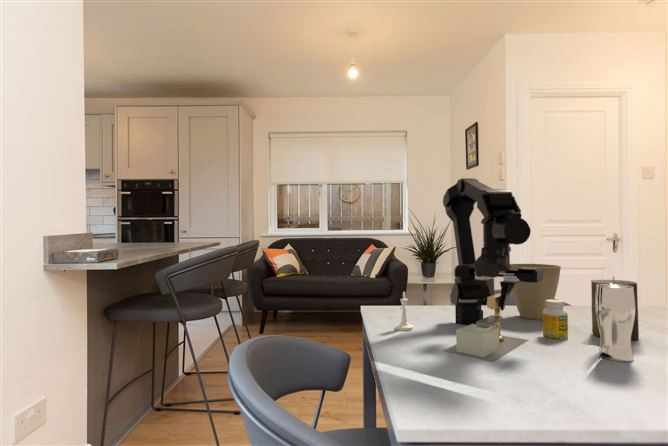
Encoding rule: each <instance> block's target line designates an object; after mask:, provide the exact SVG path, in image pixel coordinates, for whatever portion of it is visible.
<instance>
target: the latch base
mask: <svg viewBox="0 0 668 446" xmlns="http://www.w3.org/2000/svg"><path fill="white" fill-rule="evenodd" d="M502 336H504V337H505V340H501V341H499V349H498V350H496V351H494V352H493V353H491V354H489V355H488V356H486V357H480V356H475V355H471V354H466V353H461V352H457V351H456V344H454V345H452V346H450V347H447V348H446V349H443V350H442V352H445V353H450V354H454V355H460V356H464V357H469V358H474V359H477V360H482V361H485V362H486V361H487V362H492V363H495V362H496V361H498V360H499V359H502V358H503V357H504V356H506V355H507V354H509V353H511V352H512V351H514V350H516V349H517V348H518V347H520V346H521V345H523V344H525V343H527V342H528V341H529V339H526V338H520V337H514V336H513V337H512V336H509V335H502Z"/></svg>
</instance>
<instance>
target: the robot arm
mask: <svg viewBox="0 0 668 446" xmlns="http://www.w3.org/2000/svg"><path fill="white" fill-rule="evenodd" d="M442 198H443V199H442V204H443V207H444V211H445V214H446V216H447V217H448V218H449V220H451V222H452V226H453V233H454V241H455V247H456V255H457V262H458V263H457V265H456V266H455V267H454V269H453V272H454V275H453V276H454V284H453V287H452V289H451V292H450V295H449V297H450V303H452V304H453V305H454V306H455V315H454V316H455V322H454V324H456V325H462V326H468V325H470V324H476V321H479V320H481V319H484V310H483V309H482V306H487V297H489V296H492V295H495V278H497V277H498V278H499V277H500V278H503V280H501V281H500V282H499V284H500V294H501V300H500V311H504V310H505V308H506V303H507V302H508V300H509V298H510V295H511V293H512V289H513V288H514V286H515V284H517V283H520V281H521V282H533V283H536V282H540V281H542V280H543V272H542V270H541V269H540V268H531V267H523V268H519V269H518V270H510V269H511V264H512V263H510V261H511V259H510V258H511V257H510V256H511V254H510V252H512V246H510V245H516V246H517V245H522V244H524V243H526V242H527V241H528V240H529V239H530V236H531V232H532V231H531V227H530V225H529V223H528V222H527V221H526V220H525V219H523V218H522V210H521V208H520V206H519V205H518V202H517V201H516V198H515V196H514V194H513V192H512V191H511V190H510V189H501V188H492V187H490V186H488V185H486V184H485V183H483V182H480V181H479V180H478V179H477V178H473V177H472V178H470V177H469V178H467V177H465V178H460V179H458V180H457V182H456V183H455V184H454V185H452V186H450V187H449V188H447V189H446V191H445V193H444V195H443V197H442ZM475 204H476V208H477V209H478V211H479V212H480V213H481V215H482V216H483V218H482V219H481V221H480V224H482V225H483V226H482V231H483V232H482V234H483V235H482V236H483V238H482V240H483V247H481V254H480V256H478V258H476V253H475V247H474V239H473V233H472V227H471V226H472V225H471V220H470V218H471V216H472V214H473V212H474V210H475ZM490 310H493V309H492V308H490Z"/></svg>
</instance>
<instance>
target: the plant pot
mask: <svg viewBox="0 0 668 446" xmlns="http://www.w3.org/2000/svg"><path fill="white" fill-rule="evenodd" d="M510 264H511V269H510V270H518V269H519V268H523V267H531V268H540V269H541V270H542V272H543V280H542V281H540V282H536V283H533V282H521V281H520V283H517V284H515V286H514V288H513V289H512V291H511V293H512V296H513V299H514V303H515V305H516V308H517V312H518V314H519V316H520V317H521V318H523V319H526V320H527V319H528V320H534V321H535V320H538V321H540V320H542V321H543V310H544V309H545V308H547V306H546V305H545V301H546V300H555V299H556V296H557V295H556V294H557V291H558V286H559V281H560V275H561V265H556V264H548V263H547V264H546V263H545V264H543V263H510Z"/></svg>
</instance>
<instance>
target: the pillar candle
mask: <svg viewBox="0 0 668 446" xmlns="http://www.w3.org/2000/svg"><path fill="white" fill-rule="evenodd" d="M590 281H591V282H590V283H591V284H590V285H591V323H592V324H591V325H592V326H591V327H592V329H591V330H592V332H591V333H592V335H594V336H596V337H598V338H600V331H599V326H598V321H597V317H596V310H595V294H596V285H597V284H620V285H629V286H633V287H634V288H633V289H634V298H635V318H634V324H633V329H632V334H631V342H632V341H633V342H635V341H637V340H639V338H640V336H639V335H640V332H639V305H638V304H639V303H638V298H639V297H638V283H637V282H636V281H630V280H621V279H615V276H612V279H593V280H590Z"/></svg>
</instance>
